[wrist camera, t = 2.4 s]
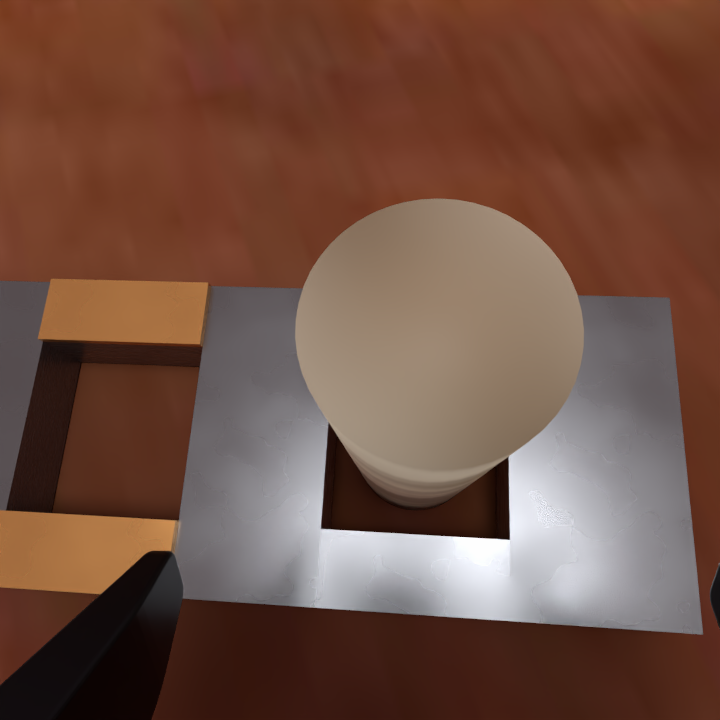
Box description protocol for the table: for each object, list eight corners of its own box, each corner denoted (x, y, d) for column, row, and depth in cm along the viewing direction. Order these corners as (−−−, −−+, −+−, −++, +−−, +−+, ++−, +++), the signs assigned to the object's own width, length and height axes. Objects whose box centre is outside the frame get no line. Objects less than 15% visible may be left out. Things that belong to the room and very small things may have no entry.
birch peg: (412, 535, 20) (432, 535, 7) (335, 447, 21) (238, 318, 8) (496, 455, 20) (646, 330, 8) (417, 373, 21) (440, 150, 9)
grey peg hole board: (639, 324, 21) (673, 294, 19) (664, 621, 19) (708, 636, 16) (-34, 304, 23) (-89, 275, 21) (-103, 569, 21) (-178, 574, 18)
